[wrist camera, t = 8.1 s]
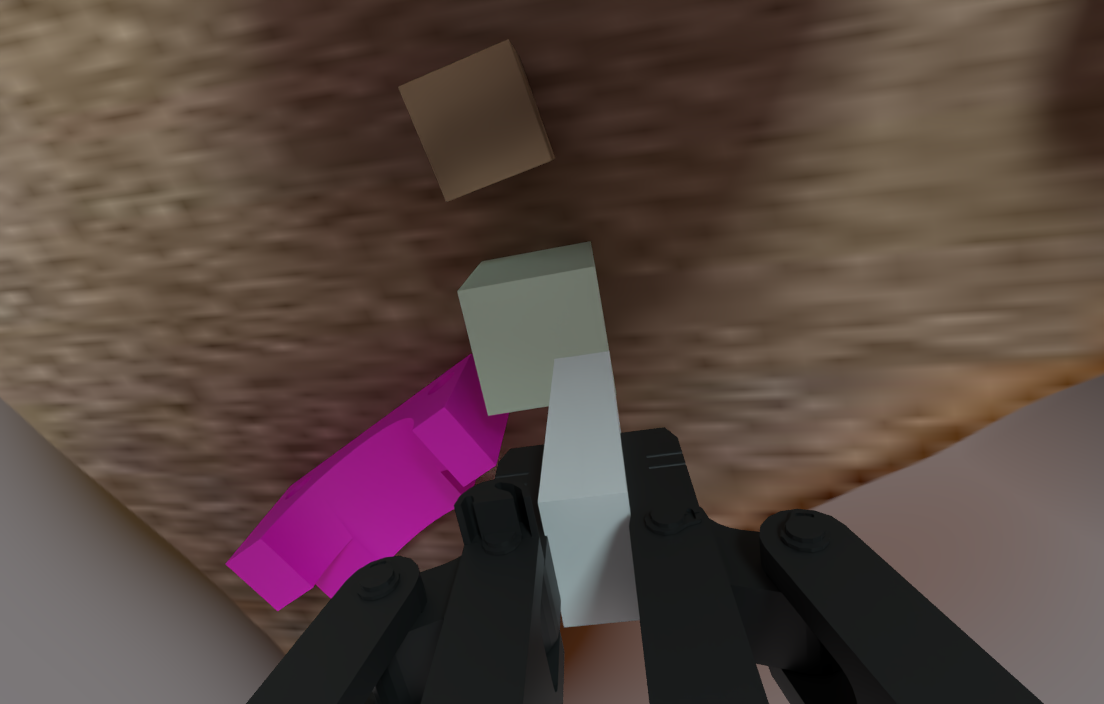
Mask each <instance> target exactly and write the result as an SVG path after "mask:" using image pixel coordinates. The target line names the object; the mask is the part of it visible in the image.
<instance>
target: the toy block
mask: <svg viewBox="0 0 1104 704" xmlns="http://www.w3.org/2000/svg"><path fill="white" fill-rule="evenodd" d="M508 416H509V413H503V414H496V415H490V416H488V413H487V409H486V405H485V401H484V397H483V393H482V389H481V385H480V381H479V377H478V373H477V369H476V365H475V361H474V357H473V355H472V353H471V354H470V355H468V356H467V357H466V358H464V359H463V360H461V361H460V362H459V363H457V364H456V365H455V366H453V367H452V368H451V369H449V370H448V371H446V372H445V373H444V374H442V375H441V376H440V377H438V378H437V379H436V380H434V381H433V382H431V383H430V384H429V385H427V386H426V387H425V388H423V389H422V390H421V391H419V392H418V393H416V394H415V395H414V396H412V397H411V398H410V399H408V400H407V401H406V402H404V403H403V404H401V405H400V406H399V407H397V408H396V409H395V410H393V411H392V412H391V413H389V414H388V415H387V416H385V417H384V418H382V419H381V420H380V421H378V422H377V423H376V424H374V425H373V426H372V427H370V428H369V429H367V430H366V431H365V432H363V433H362V434H361V435H359V436H358V437H357V438H355V439H354V440H352V441H351V442H350V443H348V444H347V445H346V446H344V447H343V448H342V449H340V450H339V451H337V452H336V453H335V454H333V455H332V456H331V457H329V458H328V459H327V460H325V461H324V462H322V463H321V464H320V465H318V466H317V467H316V468H314V469H313V470H312V471H310V472H309V473H307V474H306V475H305V476H303V477H302V478H301V479H299V480H298V481H297V482H295V483H294V484H292V485H291V486H290V487H289V488H288V489H287V491H286V492H285V493H284V494H283V495H282V497H281V498H280V499H279V500H278V501H277V503H276V504H275V505H274V506H273V507H272V509H271V510H270V511H269V512H268V513H267V515H266V516H265V517H264V518H263V519H262V521H261V522H260V523H259V524H258V525H257V526H256V528H255V529H254V530H253V531H252V532H251V534H250V535H249V536H248V537H247V538H246V540H245V541H244V542H243V543H242V544H241V546H240V547H239V548H238V549H237V550H236V552H235V553H234V554H233V555H232V556H231V558H230V559H229V560H228V561H227V562H226V565H227V566H228V567H229V568H230V569H231V570H233V571H234V572H235V573H236V574H237V575H238V576H239V577H240V578H241V579H243V580H244V581H245V582H246V583H247V584H248V585H249V586H250V587H251V588H252V589H254V590H255V591H256V592H257V593H258V594H259V595H260V596H261V597H262V598H264V599H265V600H266V601H267V602H268V603H269V604H270V605H271V606H272V607H274V608H275V609H276V610H277V611H279V610H280V609H282V608H283V607H285V606H286V605H288V604H289V603H291V602H292V601H294V600H295V599H297V598H298V597H300V596H301V595H303V594H304V593H306V592H307V591H309V590H310V589H312V588H313V587H314V585H315V584H316V585H317V586H318V587H319V588H320V589H321V590H322V591H323V592H324V593H325V594H326V595H327V596H328V597H329V598H332V597H333V596H334V595H335V594H336V592H337V591H338V590H339V589H340V587H341V586H342V585H343V584H344V582H345V581H346V580H347V579H348V578H349V577H350V576H351V575H353V574H354V573H355V572H356V571H357V570H358V569H360V568H362V567H363V566H365V565H367V564H369V563H370V562H373V561H376V560H379V559H382V558H385V557H393V556H394V555H395V554H396V553H397V552H398V551H399V550H400V549H401V548H402V547H403V546H404V545H405V544H407V543H408V542H409V541H410V540H411V539H412V538H413V537H414V536H416V535H417V534H418V533H419V532H420V531H422V530H423V529H424V528H425V527H427V526H428V525H429V524H431V523H432V522H434V521H435V520H436V519H438V518H440V517H441V516H443V515H444V514H446V513H448V512H449V511H451V510H453V509H454V504H455V503H456V501H457V499H458V498H459V496H460V495H462V494H463V493H464V492H466V491H467V490H468V489H469V488H471V487H473V486H474V485H475V481H476V478H478V477H479V476H481V475H482V474H484V473H485V472H487V471H488V470H490V469H491V468H493V467H494V466H496V464H497V460H498V456H499V452H500V448H501V444H502V440H503V436H504V432H505V428H506V424H507V420H508Z"/></svg>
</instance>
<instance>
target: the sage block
mask: <svg viewBox="0 0 1104 704" xmlns="http://www.w3.org/2000/svg"><path fill="white" fill-rule="evenodd" d="M457 292H458V296H459V300H460V304H461V308H462V312H463V316H464V320H465V324H466V329H467V333H468V337H469V341H470V345H471V349H472V353H473V357H474V361H475V365H476V369H477V373H478V377H479V381H480V385H481V389H482V393H483V397H484V401H485V405H486V409H487V413H488V416H490V415H496V414H503V413H509V412H515V411H521V410H528V409H534V408H540V407H547V406H549V402H550V393H551V384H552V376H553V367H554V359H558V358H565V357H572V356H579V355H586V354H592V353H599V352H606V351H609V347H608V341H607V335H606V329H605V323H604V317H603V311H602V305H601V299H600V293H599V287H598V281H597V275H596V269H595V263H594V257H593V251H592V246H591V241H589V242H583V243H578V244H573V245H567V246H562V247H556V248H551V249H545V250H540V251H535V252H529V253H524V254H518V255H513V256H507V257H502V258H497V259H491V260H486V261H481V263H480V264H479V265H478V266H477V268H476V269H475V270H474V271H473V272H472V274H471V275H470V276H469V277H468V279H467V280H466V281H465V282H464V284H463V285H462V286H461V287H460V288H459V290H458V291H457ZM609 354H610V353H609ZM610 360H611V359H610ZM611 367H612V365H611ZM612 374H613V371H612ZM613 381H614V377H613ZM614 388H615V383H614ZM615 394H616V389H615Z"/></svg>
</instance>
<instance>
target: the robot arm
mask: <svg viewBox="0 0 1104 704" xmlns="http://www.w3.org/2000/svg"><path fill="white" fill-rule="evenodd" d="M454 509H455V512H456V516H457V520H458V523H459V527H460V531H461V534H462V538H463V542H464V549H463V552H462V555H461V556H460V557H458V558H457V559H455V560H453V561H451V562H448V563H446V564H443V565H441V566H438V567H435V568H432V569H429V570H426V571H423V572H420V571H419V568H418V565H417V564H416V563H415V562H414V561H413V560H412V559H410V558H406V557H402V556H393V557H385V558H382V559H379V560H376V561H373V562H370V563H369V564H367V565H365V566H363V567H362V568H360V569H358V570H357V571H356V572H355V573H354V574H353V575H351V576H350V577H349V578H348V579H347V580H346V581H345V582H344V584H343V585H342V586H341V587H340V589H339V590H338V591H337V592H336V594H335V595H334V596H333V597H332V598H331V600H330V601H329V602H328V603H327V605H326V606H325V607H324V608H323V610H322V611H321V612H320V613H319V614H318V616H317V617H316V618H315V619H314V621H313V622H312V623H311V624H310V626H309V627H308V628H307V629H306V630H305V632H304V633H303V634H302V635H301V637H300V638H299V639H298V640H297V642H296V643H295V644H294V645H293V647H292V648H291V649H290V650H289V651H288V653H287V654H286V655H285V656H284V658H283V659H282V660H281V661H280V663H279V664H278V665H277V666H276V667H275V669H274V670H273V671H272V672H271V674H270V675H269V676H268V678H267V679H266V680H265V681H264V682H263V683H262V685H261V686H260V687H259V689H258V690H257V691H256V692H255V693H254V695H253V696H252V697H251V698H250V699H249V701H248V702H247V703H246V704H563V684H564V648H563V643H562V638H561V634H560V611H561V614H562V619H563V623H564V627H572V626H583V625H593V624H603V623H615V622H624V621H635V620H640V626H641V634H642V643H643V651H644V660H645V668H646V677H647V686H648V694H649V703H650V704H769V703H768V700H767V697H766V693H765V690H764V687H763V684H762V681H761V678H760V675H759V672H758V669H757V666H756V664H761V665H766V666H768V667H769V669H770V672H771V675H772V677H773V678H774V679H775V681H776V682H777V684H778V686H779V687H780V689H781V690H782V692H783V693H784V695H785V697H786V698H787V700H788V701H789V703H790V704H1044V703H1042V702H1041V701H1040V700H1039V699H1038V698H1037V697H1036V696H1034V694H1032V693H1031V692H1030V691H1029V690H1028V689H1027V688H1026V687H1025V686H1023V685H1022V684H1021V683H1020V682H1019V681H1018V680H1017V679H1016V678H1015V677H1014V676H1012V675H1011V674H1010V673H1009V672H1008V671H1007V670H1006V669H1005V668H1003V667H1002V666H1001V665H1000V664H999V663H998V662H997V661H996V660H995V659H993V658H992V657H991V656H990V655H989V654H988V653H987V652H985V650H983V649H982V648H981V647H980V646H979V645H978V644H977V643H976V642H975V641H973V640H972V639H971V638H970V637H969V636H968V635H967V634H966V633H965V632H963V631H962V630H961V629H960V628H959V627H958V626H957V625H956V624H955V623H953V622H952V621H951V620H950V619H949V618H948V617H947V616H945V615H944V614H943V613H942V612H941V611H940V610H939V609H938V608H937V607H936V606H934V605H933V604H932V603H931V602H930V601H929V600H928V599H927V598H925V597H924V596H923V595H922V594H921V593H920V592H919V591H918V590H917V589H916V588H914V587H913V586H912V585H911V584H910V583H909V582H908V581H907V580H905V579H904V578H903V577H902V576H901V575H900V574H899V573H898V572H897V571H896V570H894V569H893V568H892V567H891V566H890V565H889V564H888V563H887V562H885V561H884V560H883V559H882V558H881V557H880V556H879V555H878V554H876V553H875V552H874V551H873V550H872V549H871V548H870V547H869V546H868V545H866V544H865V543H864V542H863V541H862V540H861V539H860V538H859V537H858V536H857V535H855V534H854V533H853V532H852V531H851V530H850V529H849V528H848V527H847V526H845V525H844V524H843V523H841V522H840V521H838V520H837V519H835V518H833V517H832V516H829V515H826V514H823V513H820V512H817V511H813V510H803V509H793V510H786V511H780V512H778V513H776V514H774V515H772V516H769V517H768V518H767V519H766V520H765V521H764V522H763V524H762V525H761V527H760V532H755V531H746V530H739V529H734V528H729V527H726V526H723V525H720V524H718V523H716V522H714V521H713V520H711V519H709V518H708V516H707V515H706V513H705V512H704V510H703V509H702V508H701V507H699V504H698V501H697V498H696V495H695V492H694V488H693V485H692V482H691V479H690V476H689V473H688V469H687V466H686V464H685V460H684V457H683V454H682V450H681V447H680V444H679V441H678V438H677V437H676V436H675V435H674V434H672V433H671V432H670V431H668V430H667V429H666V428H665V427H664V428H656V429H648V430H640V431H632V432H625V433H621V428H620V421H619V415H618V408H617V401H616V394H615V388H614V381H613V374H612V367H611V360H610V354H609V351H606V352H599V353H592V354H586V355H579V356H572V357H565V358H558V359H554V367H553V376H552V384H551V393H550V402H549V410H548V419H547V427H546V436H545V444H544V445H536V446H529V447H521V448H513V449H510V450H509V451H508V452H507V453H506V454H505V455H504V457H503V458H502V459H501V460H500V461H499V463H498V467H497V471H496V475H495V479H494V480H490V481H486V482H482V483H480V484H478V485H476V486H473V487H471V488H469V489H468V490H467V491H466V492H464V493H463V494H462V495H460V496H459V498H458V499H457V501H456V503H455V504H454Z"/></svg>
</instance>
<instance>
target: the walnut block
mask: <svg viewBox="0 0 1104 704" xmlns="http://www.w3.org/2000/svg"><path fill="white" fill-rule="evenodd" d="M398 89H399V91H400V93H401V96H402V98H403V100H404V103H405V105H406V108H407V110H408V112H409V115H410V117H411V120H412V122H413V124H414V127H415V129H416V131H417V134H418V136H419V139H420V141H421V143H422V146H423V148H424V150H425V153H426V155H427V158H428V160H429V162H430V165H431V167H432V170H433V172H434V174H435V177H436V179H437V181H438V184H439V186H440V189H441V191H442V193H443V196H444V198H445V200H446V202H448V201H450V200H453V199H455V198H458V197H460V196H463V195H466V194H468V193H471V192H473V191H476V190H478V189H481V188H483V187H486V186H488V185H491V184H493V183H496V182H499V181H501V180H504V179H506V178H509V177H511V176H514V175H516V174H519V173H521V172H524V171H526V170H529V169H532V168H534V167H537V166H539V165H542V164H544V163H547V162H549V161H552V160H553V159H555V156H554V153H553V151H552V148H551V145H550V142H549V139H548V136H547V134H546V131H545V128H544V125H543V122H542V120H541V117H540V114H539V111H538V108H537V105H536V103H535V100H534V97H533V94H532V91H531V88H530V86H529V83H528V80H527V77H526V74H525V71H524V69H523V66H522V63H521V60H520V57H519V55H518V54H517V52H516V51H515V49H514V47H513V46H512V44H511V43H510V41H509V39H507V40H505V41H503V42H500V43H498V44H496V45H493V46H491V47H489V48H486V49H484V50H482V51H479V52H477V53H475V54H473V55H470V56H468V57H466V58H463V59H461V60H459V61H456V62H454V63H452V64H449V65H447V66H445V67H442V68H440V69H438V70H436V71H433V72H431V73H429V74H426V75H424V76H422V77H419V78H417V79H415V80H412V81H410V82H408V83H405V84H403V85H401V86H399V87H398Z"/></svg>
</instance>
